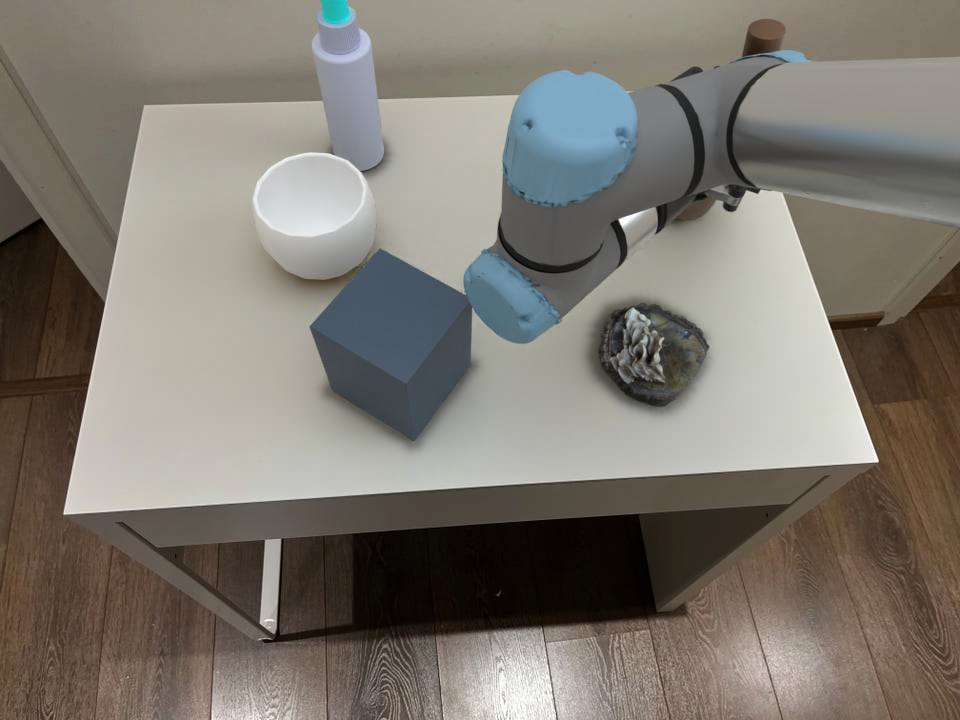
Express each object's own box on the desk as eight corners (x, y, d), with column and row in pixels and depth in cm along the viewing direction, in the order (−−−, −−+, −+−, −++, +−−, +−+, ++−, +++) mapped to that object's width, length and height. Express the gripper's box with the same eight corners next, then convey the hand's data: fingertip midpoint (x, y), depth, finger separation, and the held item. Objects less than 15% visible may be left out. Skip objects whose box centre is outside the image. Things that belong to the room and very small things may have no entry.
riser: (470, 364, 71) (472, 298, 61) (414, 441, 67) (406, 384, 56) (391, 318, 73) (379, 247, 63) (331, 390, 69) (308, 326, 59)
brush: (777, 163, 70) (820, 22, 57) (758, 194, 67) (798, 55, 55) (710, 142, 72) (738, 4, 60) (689, 172, 70) (714, 34, 58)
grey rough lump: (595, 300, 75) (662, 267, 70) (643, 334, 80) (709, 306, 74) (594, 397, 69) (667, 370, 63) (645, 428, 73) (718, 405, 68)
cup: (404, 245, 78) (398, 184, 70) (330, 319, 73) (313, 263, 65) (322, 194, 82) (306, 130, 73) (245, 262, 77) (219, 201, 68)
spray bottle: (386, 137, 86) (365, -38, 67) (383, 173, 83) (360, 1, 64) (337, 136, 86) (302, -40, 67) (332, 172, 83) (294, 0, 64)
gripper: (544, 177, 63) (700, 58, 71) (692, 288, 57) (842, 146, 66) (555, 112, 56) (725, -11, 64) (722, 230, 51) (885, 80, 59)
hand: (784, 68), depth 65 cm, fingers closed on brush, 3 cm apart
